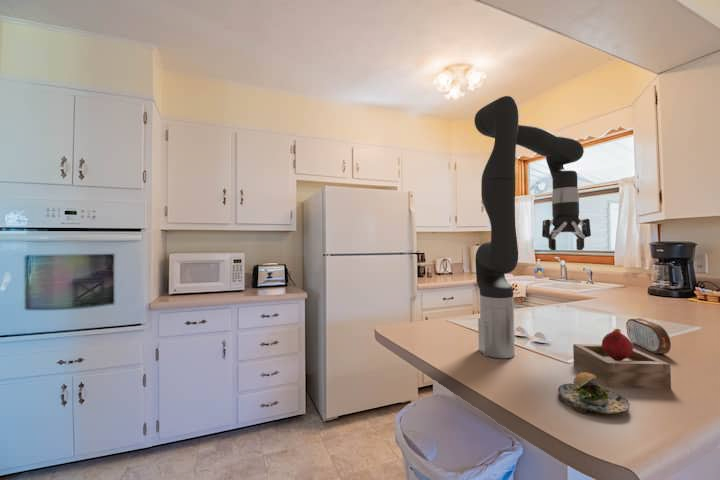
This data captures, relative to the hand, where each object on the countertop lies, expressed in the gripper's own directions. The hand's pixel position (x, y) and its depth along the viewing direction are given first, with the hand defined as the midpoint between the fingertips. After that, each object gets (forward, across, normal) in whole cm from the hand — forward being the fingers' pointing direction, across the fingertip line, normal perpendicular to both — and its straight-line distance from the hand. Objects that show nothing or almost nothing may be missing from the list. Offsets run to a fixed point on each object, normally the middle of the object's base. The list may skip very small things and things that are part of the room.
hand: (566, 250), depth 103 cm
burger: (+31, -19, -42) cm, 55 cm away
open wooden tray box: (+31, -4, -28) cm, 42 cm away
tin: (+30, +18, -8) cm, 36 cm away
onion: (+27, -4, -28) cm, 39 cm away
